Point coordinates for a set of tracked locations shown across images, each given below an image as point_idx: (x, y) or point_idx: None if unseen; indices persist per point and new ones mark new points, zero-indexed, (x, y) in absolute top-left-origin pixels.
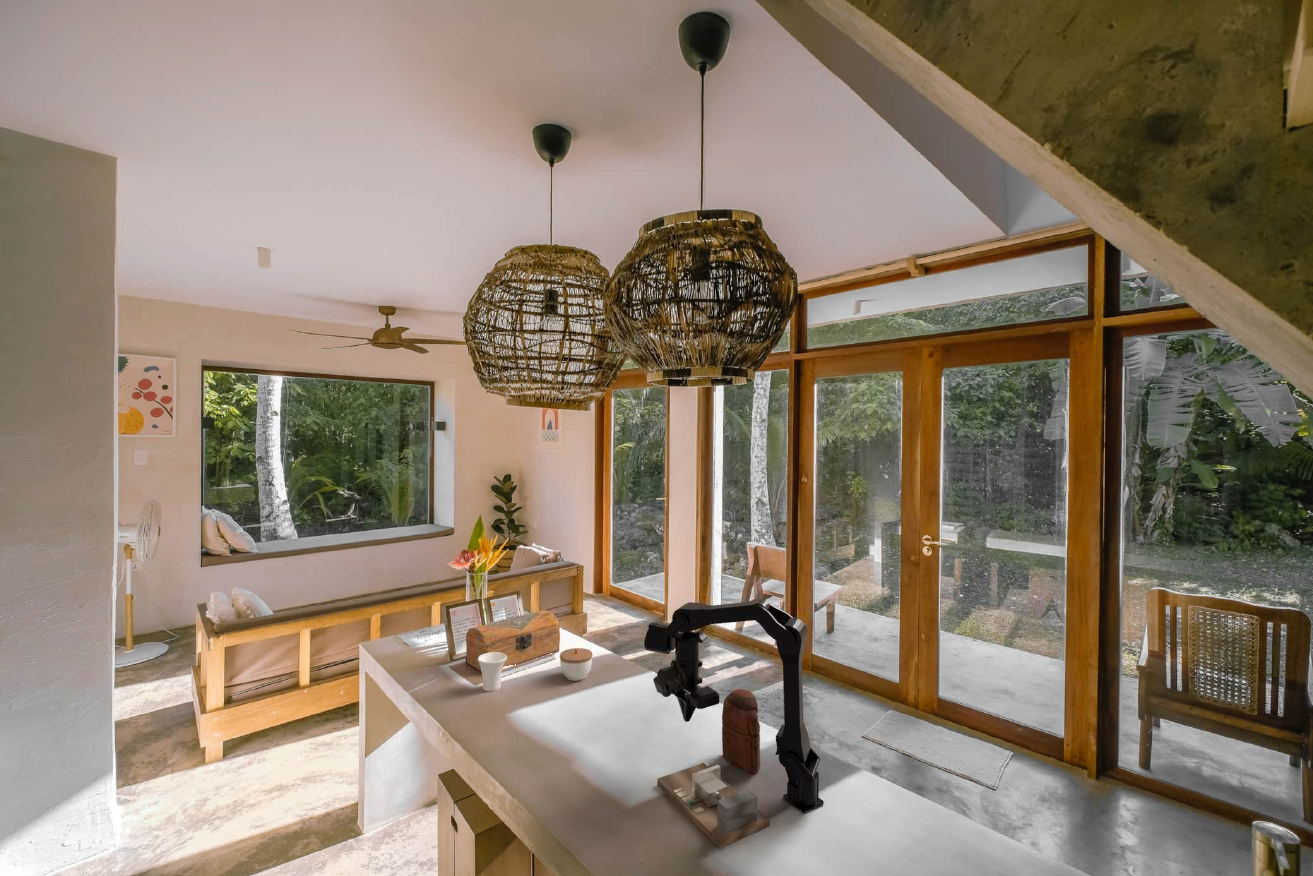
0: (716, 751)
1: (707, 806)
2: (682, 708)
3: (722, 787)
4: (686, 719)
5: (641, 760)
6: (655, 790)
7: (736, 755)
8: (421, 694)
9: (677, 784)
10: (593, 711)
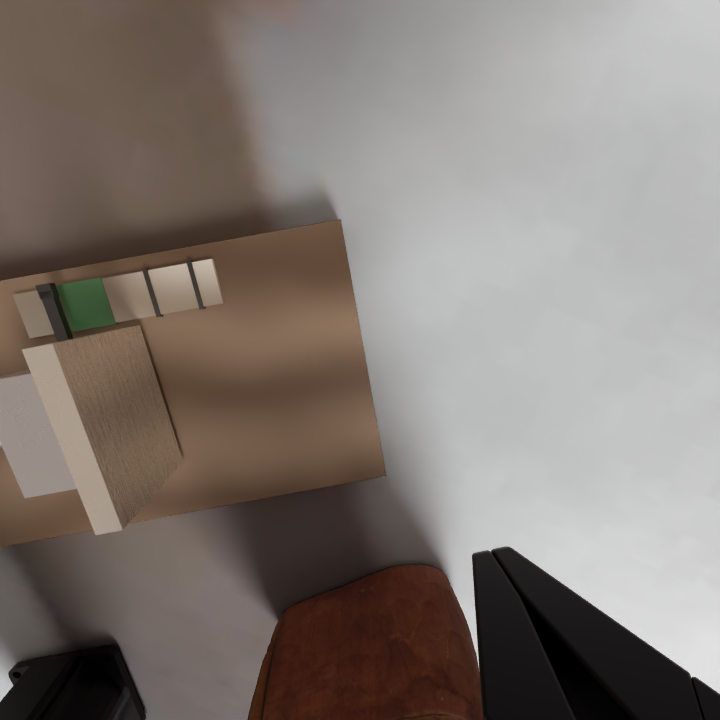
0: None
1: None
2: (610, 690)
3: (20, 471)
4: (475, 580)
5: (557, 224)
6: (306, 201)
7: (346, 623)
8: None
9: (262, 299)
10: None
